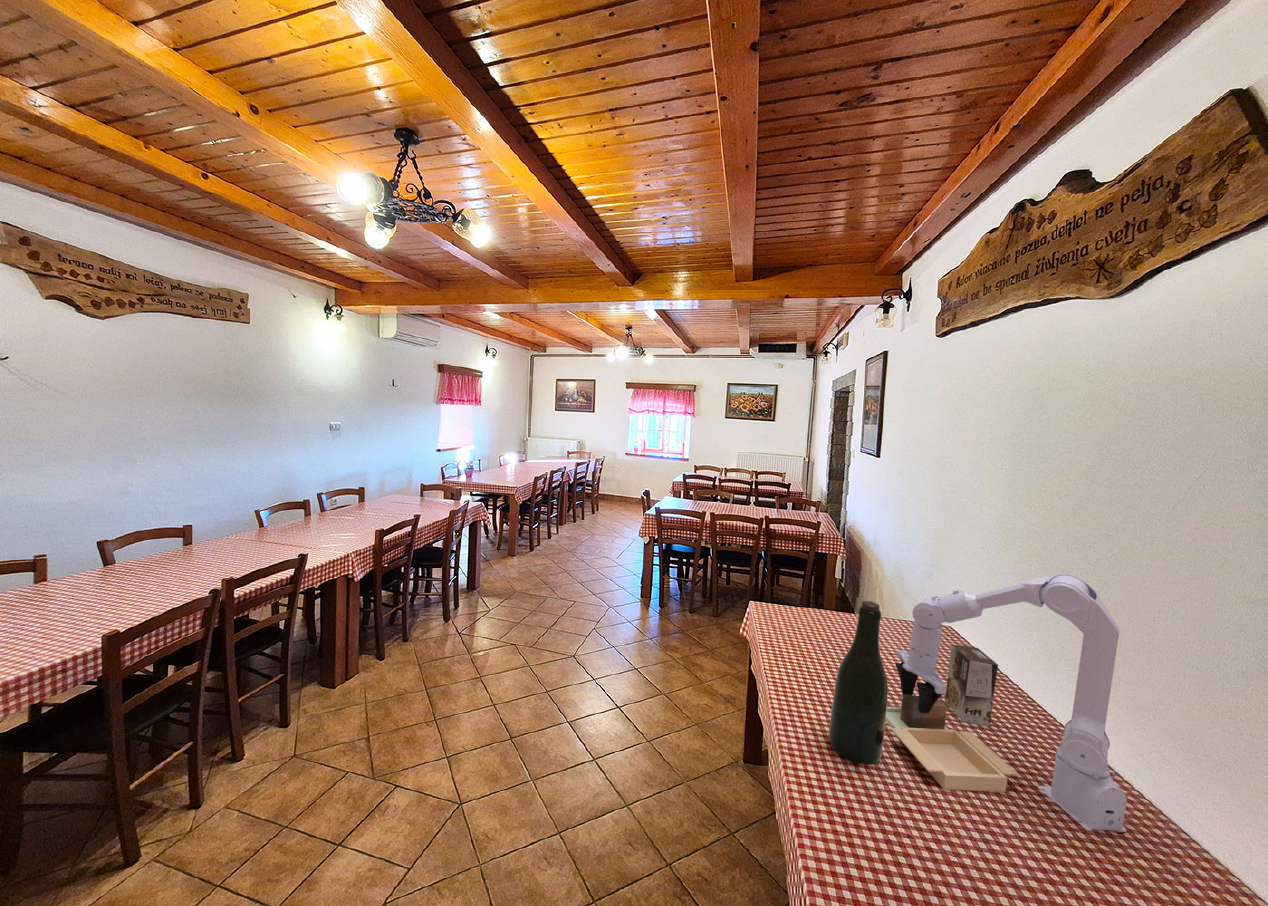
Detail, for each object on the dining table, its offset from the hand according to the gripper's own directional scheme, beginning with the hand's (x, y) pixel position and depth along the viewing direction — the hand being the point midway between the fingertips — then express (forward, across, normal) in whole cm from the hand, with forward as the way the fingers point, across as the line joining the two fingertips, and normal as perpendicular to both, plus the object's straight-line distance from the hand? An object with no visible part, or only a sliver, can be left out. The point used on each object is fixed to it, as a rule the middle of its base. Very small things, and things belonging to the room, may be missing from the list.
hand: (915, 703), depth 107 cm
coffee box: (+6, -5, +18) cm, 19 cm away
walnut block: (+5, +1, +2) cm, 5 cm away
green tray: (+5, +1, 0) cm, 5 cm away
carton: (+5, +13, -1) cm, 14 cm away
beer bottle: (+6, +9, -19) cm, 22 cm away
